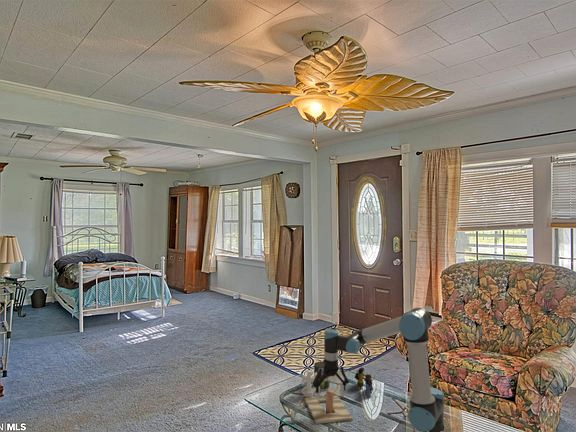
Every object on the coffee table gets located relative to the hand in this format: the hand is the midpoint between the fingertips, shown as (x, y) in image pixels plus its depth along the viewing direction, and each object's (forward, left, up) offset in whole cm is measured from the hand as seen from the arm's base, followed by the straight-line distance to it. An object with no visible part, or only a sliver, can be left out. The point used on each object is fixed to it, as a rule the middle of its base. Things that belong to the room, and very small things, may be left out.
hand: (330, 397), depth 208 cm
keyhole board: (+4, 0, -9) cm, 10 cm away
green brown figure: (+31, -5, -9) cm, 32 cm away
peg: (0, 0, -9) cm, 9 cm away
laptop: (+43, -19, -10) cm, 48 cm away
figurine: (+21, +6, -9) cm, 24 cm away
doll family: (+22, -30, -9) cm, 38 cm away
